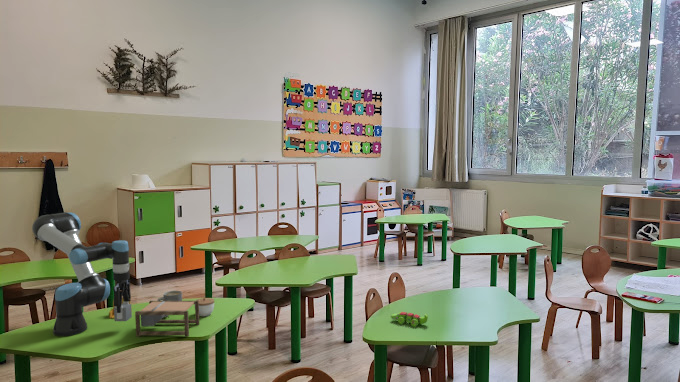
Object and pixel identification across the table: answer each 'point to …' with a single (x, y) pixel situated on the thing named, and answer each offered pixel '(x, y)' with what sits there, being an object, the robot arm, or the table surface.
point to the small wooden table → (162, 306)
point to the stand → (185, 321)
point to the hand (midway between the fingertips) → (123, 316)
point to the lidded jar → (205, 306)
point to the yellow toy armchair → (111, 313)
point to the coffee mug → (171, 296)
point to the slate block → (124, 312)
